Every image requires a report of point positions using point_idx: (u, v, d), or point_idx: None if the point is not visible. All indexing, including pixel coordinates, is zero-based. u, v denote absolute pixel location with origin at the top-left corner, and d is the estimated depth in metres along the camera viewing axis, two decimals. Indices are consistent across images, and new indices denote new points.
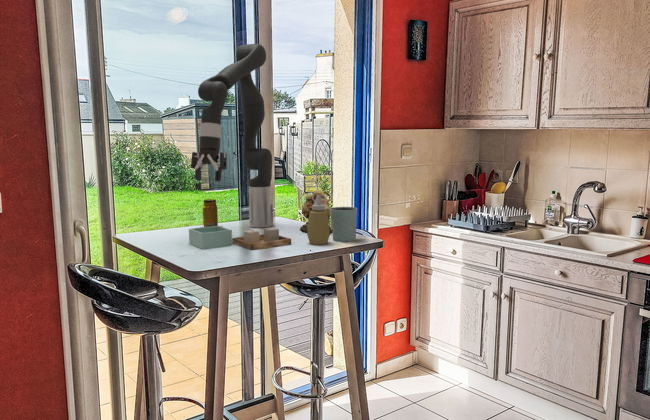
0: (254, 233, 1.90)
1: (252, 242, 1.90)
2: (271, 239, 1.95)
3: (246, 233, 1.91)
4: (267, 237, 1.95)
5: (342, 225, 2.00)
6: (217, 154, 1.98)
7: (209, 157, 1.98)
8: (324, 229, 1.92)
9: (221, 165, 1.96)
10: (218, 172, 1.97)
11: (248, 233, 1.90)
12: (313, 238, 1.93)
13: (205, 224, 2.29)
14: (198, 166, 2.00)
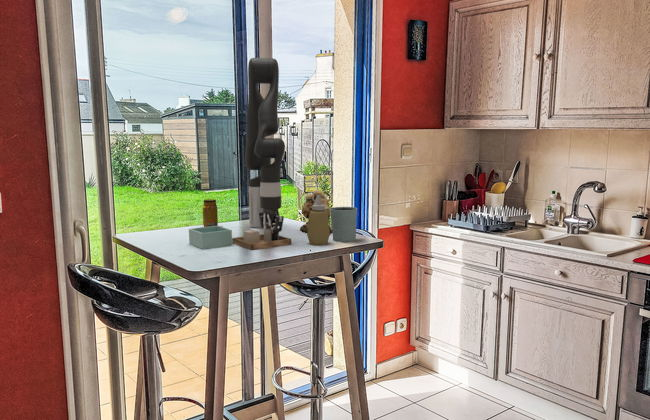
0: (254, 233, 1.90)
1: (252, 242, 1.90)
2: (271, 239, 1.95)
3: (246, 233, 1.91)
4: (267, 237, 1.95)
5: (342, 225, 2.00)
6: (275, 215, 1.92)
7: (268, 217, 1.94)
8: (324, 229, 1.92)
9: (274, 228, 1.92)
10: (274, 234, 1.94)
11: (248, 233, 1.90)
12: (313, 238, 1.93)
13: (205, 224, 2.29)
14: (265, 226, 1.97)
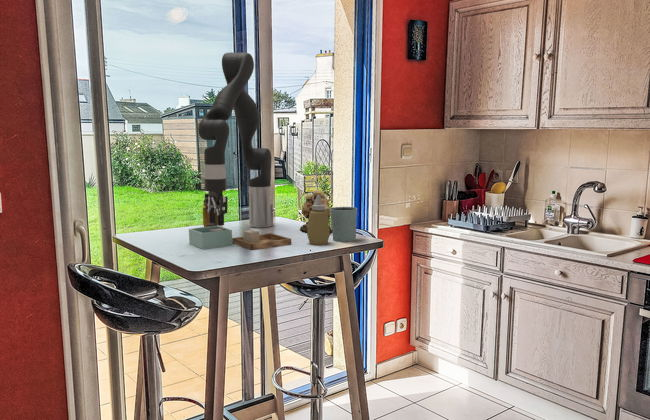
0: (254, 233, 1.90)
1: (252, 242, 1.90)
2: None
3: (246, 233, 1.91)
4: None
5: (342, 225, 2.00)
6: (219, 197, 1.90)
7: (212, 200, 1.91)
8: (324, 229, 1.92)
9: (220, 210, 1.89)
10: (219, 216, 1.90)
11: (248, 233, 1.90)
12: (313, 238, 1.93)
13: (205, 224, 2.29)
14: (209, 208, 1.96)
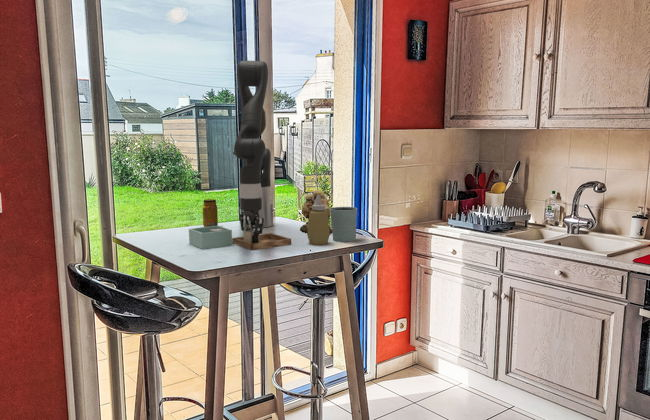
0: None
1: None
2: None
3: (246, 233, 1.91)
4: None
5: (342, 225, 2.00)
6: (255, 217, 1.88)
7: (248, 219, 1.89)
8: (324, 229, 1.92)
9: (255, 231, 1.87)
10: (254, 237, 1.89)
11: (248, 233, 1.90)
12: (313, 238, 1.93)
13: (205, 224, 2.29)
14: (245, 228, 1.93)
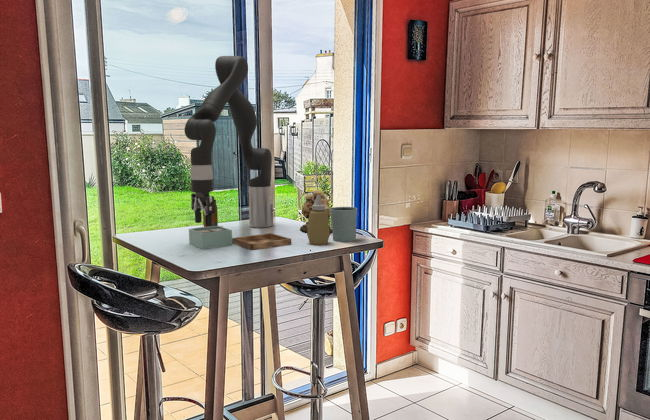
0: None
1: None
2: None
3: None
4: None
5: (342, 225, 2.00)
6: (205, 198, 1.87)
7: (199, 201, 1.88)
8: (324, 229, 1.92)
9: (207, 210, 1.85)
10: (207, 217, 1.87)
11: None
12: (313, 238, 1.93)
13: None
14: (195, 208, 1.93)
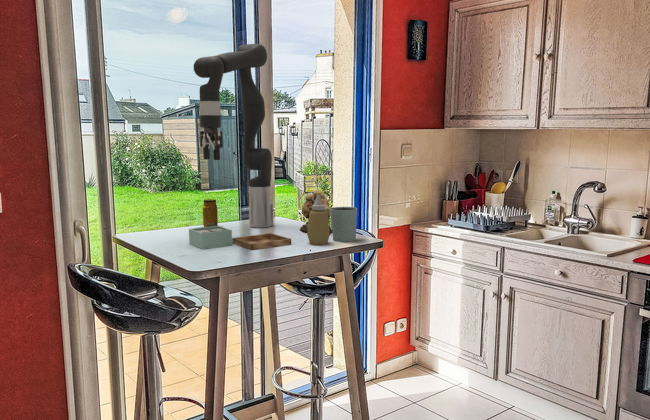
0: None
1: None
2: None
3: None
4: None
5: (342, 225, 2.00)
6: (213, 132, 1.94)
7: (207, 136, 1.96)
8: (324, 229, 1.92)
9: (215, 144, 1.93)
10: (215, 151, 1.95)
11: None
12: (313, 238, 1.93)
13: (205, 224, 2.29)
14: (204, 145, 2.01)
